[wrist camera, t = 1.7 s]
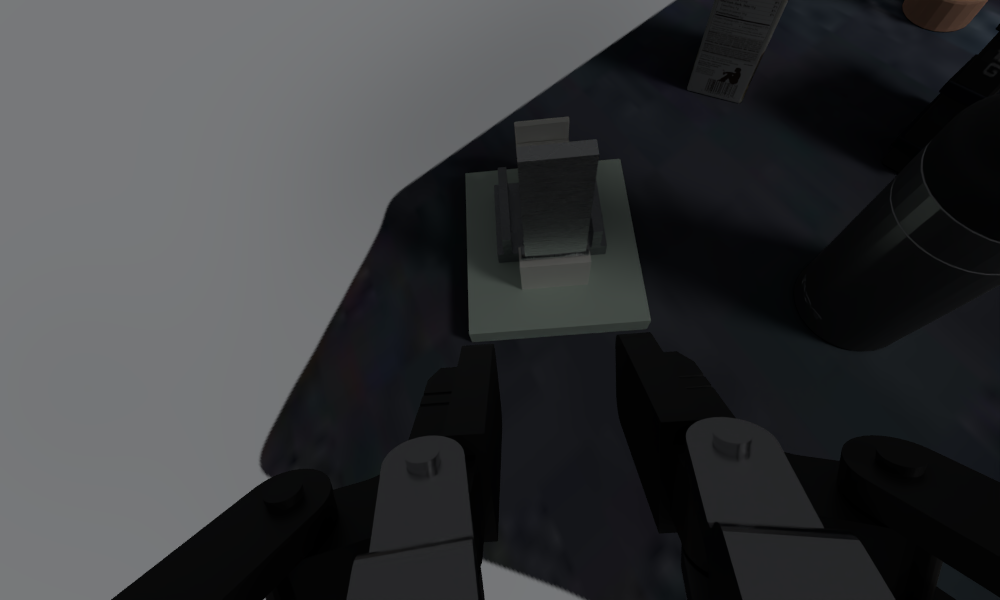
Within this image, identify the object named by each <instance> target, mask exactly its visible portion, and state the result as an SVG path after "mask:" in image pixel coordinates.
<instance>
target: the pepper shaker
mask: <svg viewBox="0 0 1000 600" xmlns="http://www.w3.org/2000/svg"><path fill="white" fill-rule="evenodd" d="M987 1H988V0H904V3H903V5H902V7H903V12H904V14H905V15H906V17H907V18H908V19H909V20H910V21H911V22H913V23H914V24H916V25H918V26H920V27H922V28H924V29H928V30H932V31H939V32H949V31H956V30H959V29H961V28H964V27H965V26H966V25H967V24H969V23H970V22H971V20H972V19H973V18H974V17H975V15H976V14H977V13H978V12H979V11H980V9H981V8H982V7H983V6H984V5H985V3H986V2H987Z"/></svg>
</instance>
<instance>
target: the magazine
mask: <svg viewBox="0 0 1000 600" xmlns="http://www.w3.org/2000/svg"><path fill="white" fill-rule="evenodd" d="M996 30H998V31H999V32H998V33H997V35H996V36H995V37H994V38H993V39H992V40H991V41H990V42H989V43H988V44H987V45H986V47H985V48H984V49H983V50H982V51H981V52H980V53H979V54H978V55H977V54H976V55H975V56H974V57H973V58H972V59H971V60H970V61H968V62H967V63H966V64H965V65H964V66H963V67H962V68H961V69H960V70H959V71H958V72H957V73H956V74H955V75H954V76H953V77H952V78H951V79H950V80H949V81H948V82H947V83H946V84H945V85H944V86H943V87H942V88H941V90H940V91H939V92H940V94H939V95H938V96H937V97H936V98H935V99H934V100H933V101H932V102H931V103H930V104H929V105H928V106H927V108H926V109H925V110H924V111H923V112H922V113H921V114H920V115H919V116H918V117H917V118H916V119H915V120H914V121H913V122H912V123H911V124H910V125H909V126H908V127H907V128H906V129H905V130H904V131H903V132H902V133H901V134H900V135H899V137H898V138H897V139H896V140H895V141H894V142H893V143H892V144H891V146H893V147H894V148H893V149H892V150H891V151H890V152H889V153H888V154H887V156H886V157H885V158H884V159H883V162H882V163H883V164H884V165H886V166H888V167H889V168H891V169H893V170H895V171H896V172H898V173H900V172H901V171H902V170H903V168H904V167H905V166H906V165H907V164H908V163H909V162H910V161H911V160H912V159H913V158H914V157H915V156H916V155H917V154H918V153H919V152H920V151H921V150H922V149H923V148H924V147H925V146H926V145H927V144H928V143H929V142H930V141H931V140H932V139H933V138H934V137H935V136H936V135H937V134H938V133H939V132H940V131H941V130H942V129H943V128H944V127H945V126H946V125H947V124H948V123H949V122H950V121H951V120H952V119H953V118H954V117H955V116H956V115H957V114H959V113H960V112H961V111H962V110H964V109H965V108H967V107H968V106H970V105H972V104H973V103H975V102H977V101H979V100H982V99H984V98H987V97H990V96H993V95H996V94H1000V24H999V25H998V26H997V28H996Z"/></svg>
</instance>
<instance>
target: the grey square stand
mask: <svg viewBox="0 0 1000 600" xmlns="http://www.w3.org/2000/svg"><path fill="white" fill-rule="evenodd" d="M514 126H515V138H516V147H522V146H533V145H543V144H553V143H564V142H569V117H559V118H549V119H539V120H529V121H519V122H514ZM506 171H507V180H508V184H509V183H519V177H518V168H517V169H507V170H506ZM465 177H466V220H467V263H468V306H469V335H470V338H471V340H472V342H481V341H494V340H507V339H521V338H534V337H547V336H560V335H574V334H587V333H600V332H614V331H627V330H640V329H647V328H648V325H649V323H650V321H651V318H650V313H649V308H648V303H647V298H646V292H645V287H644V282H643V277H642V271H641V266H640V261H639V256H638V250H637V245H636V240H635V235H634V229H633V224H632V219H631V214H630V208H629V203H628V198H627V193H626V187H625V182H624V177H623V172H622V167H621V161H620V159H612V160H602V161H598V167H597V175H596V181H597V187H598V193H599V199H600V205H601V212H602V218H603V224H604V230H605V236H606V243H607V248H606V253H605V254H601V255H590V251H589V255H588V256H576V257H564V258H552V259H541V260H529V261H522V259H521V247H519V248H518V249H519V261H517V262H505V263H499V261H498V254H497V236H496V217H495V198H494V185H499V183H498V170H496V171H486V172H475V173H465ZM589 250H590V249H589Z"/></svg>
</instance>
